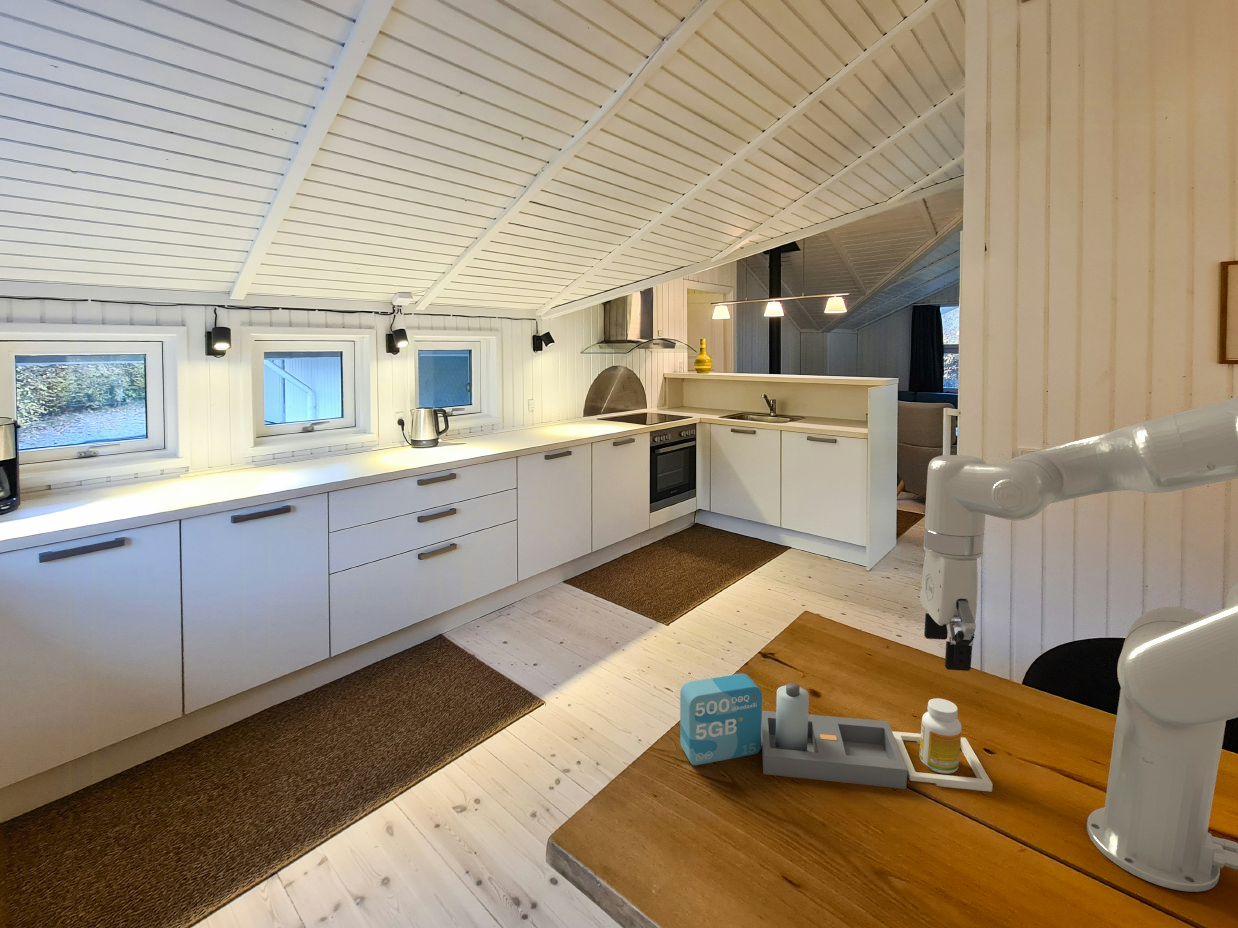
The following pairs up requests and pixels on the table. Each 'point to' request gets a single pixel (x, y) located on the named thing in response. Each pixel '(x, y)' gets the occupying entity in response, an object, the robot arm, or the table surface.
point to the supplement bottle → (940, 736)
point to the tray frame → (945, 780)
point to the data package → (720, 718)
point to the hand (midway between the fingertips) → (945, 652)
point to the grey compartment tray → (837, 752)
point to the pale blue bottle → (792, 717)
